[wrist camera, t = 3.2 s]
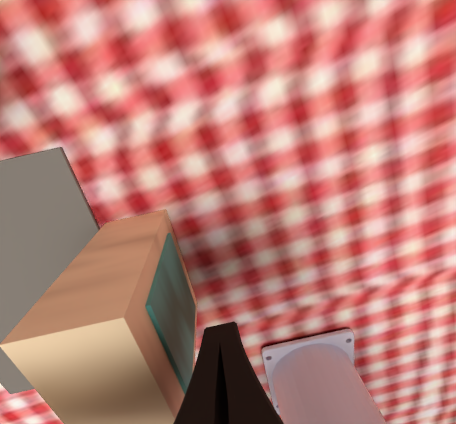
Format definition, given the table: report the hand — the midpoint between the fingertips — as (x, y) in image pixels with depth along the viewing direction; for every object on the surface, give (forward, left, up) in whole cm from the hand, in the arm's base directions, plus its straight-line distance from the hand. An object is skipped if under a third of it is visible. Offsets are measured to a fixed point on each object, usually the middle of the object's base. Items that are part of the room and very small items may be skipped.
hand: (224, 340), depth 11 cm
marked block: (0, +4, -7) cm, 9 cm away
